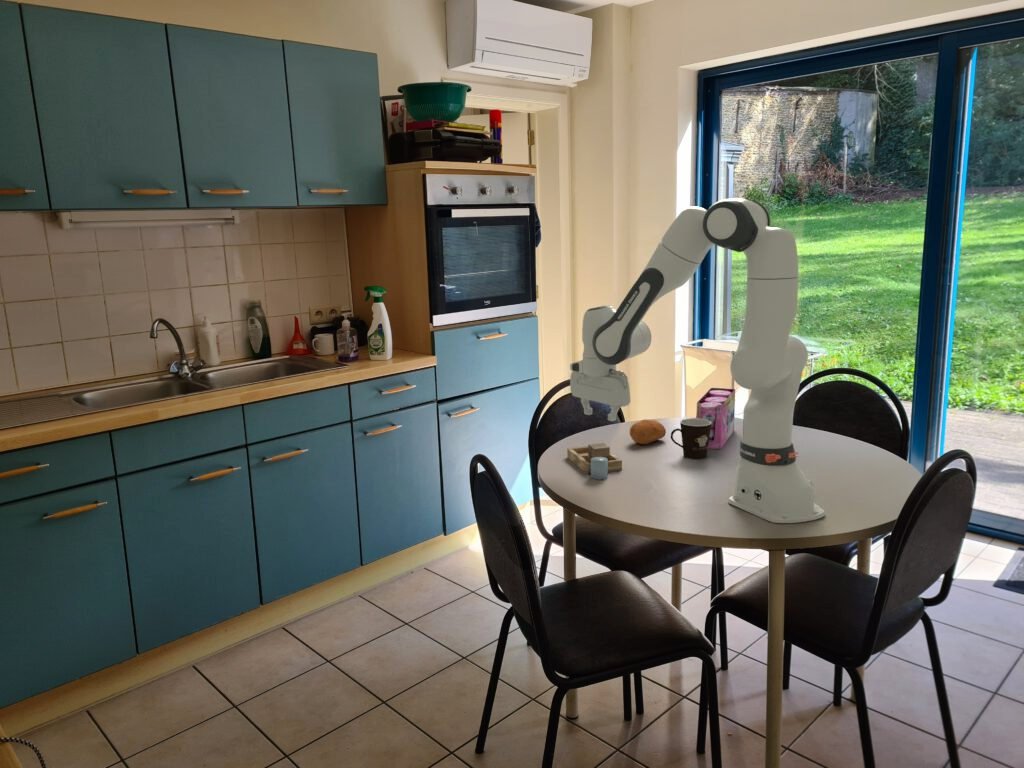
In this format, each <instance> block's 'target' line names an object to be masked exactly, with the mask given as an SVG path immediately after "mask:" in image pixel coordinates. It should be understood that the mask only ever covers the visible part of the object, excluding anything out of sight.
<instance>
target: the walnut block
mask: <svg viewBox="0 0 1024 768" xmlns="http://www.w3.org/2000/svg"><path fill="white" fill-rule="evenodd" d="M587 446H588V462H589V463H591V458H594V457H605V458H607V459H608V461H610V452H611V451H610V450H611V448H610V446H609V445H607V444H606V443H604V442H600V443H599V442H598V443H590V444H588V445H587Z"/></svg>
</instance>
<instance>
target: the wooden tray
mask: <svg viewBox="0 0 1024 768" xmlns="http://www.w3.org/2000/svg"><path fill="white" fill-rule="evenodd" d="M566 449H567V458H568V459H569V460H570V461H571V462H572V461H573V462H572V463H574V464H575V465H576V466H577V465H578V466H579V469H581V470H582V471H583V472H584V471H585V472H584V473H585V474H586V475H590V474H589V473H591V463H589V462H588V445H586V446H585V445H583V446H578V447H577V446H576V447H568V448H566ZM578 466H577V467H578ZM614 470H618V471H623V460H622V459H621V458H619V457H618V456H617V455H615V454H613V453H612V452H611V451H610V461H608V471H610V472H615V471H614Z"/></svg>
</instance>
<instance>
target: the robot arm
mask: <svg viewBox="0 0 1024 768" xmlns="http://www.w3.org/2000/svg"><path fill="white" fill-rule="evenodd" d="M715 245H716V246H718V247H720V248H723V249H727V250H730V251H734V252H737V253H744V256H745V258H746V264H747V265H746V268H747V269H746V270H747V271H746V274H747V275H746V296H745V297H746V298H745V299H746V301H745V304H746V305H745V314H744V321H743V325H742V329H741V333H740V337H739V341H738V346H737V349H736V351H735V353H734V355H733V357H732V358H731V361H730V369H729V370H730V374H731V377H732V378H733V381H735V383H736V384H737V385H738V386H740V387H741V388H744V389H746V390H750V394H749V396H748V400H747V401H746V403H745V406H744V408H743V417H742V419H743V420H742V439H741V440H740V445H739V455H740V457H741V458H740V460H739V463H738V465H737V466H736V469H735V472H734V482H733V489H732V495H731V496H730V497H728V501H727V502H728V504H730V505H732V506H734V507H737V508H739V509H741V510H744V511H746V512H748V513H751V514H752V515H755V516H756V517H759V518H761V519H764V520H766V521H768V522H770V523H774V524H776V523H777V524H797V523H804V522H811V521H815V520H818V519H821V518H823V517H825V515H826V511H825V510H824V509H823V508H821V507H820V505H818V504H817V503H815V497H814V495H815V494H814V488H813V482H812V481H811V480H810V479H807V477H806V476H805V474H804V473H803V471H802V470H801V468H800V467H799V466H798V464H797V462H796V461H797V458H799V456H798V454H799V452H798V451H796V449H795V447H794V443H793V442H792V440H793V439H792V437H793V424H794V423H793V421H794V413H795V412H794V411H795V405H796V401H797V398H798V393H799V389H800V386H801V385H800V384H801V381H802V380H801V379H802V375H803V372H804V370H805V367H806V366H807V363H808V360H809V353H808V350H807V346H806V345H805V343H804V342H803V341H802V340H801V339H799V338H797V337H795V336H791V335H790V333H791V329H792V326H793V322H794V320H795V317H796V316H797V313H798V301H799V300H798V298H799V296H798V295H799V259H798V258H799V256H798V249H797V242H796V238H795V236H794V234H793V233H792V232H791V231H790V230H788V229H786V228H782V227H778V226H777V227H776V226H775V227H774V226H773V227H772V226H771V218H770V213H769V212H768V210H767V208H766V207H765V206H764V205H763V204H761V203H760V202H758V201H755V200H752V199H747V198H742V197H736V198H735V197H733V198H724V199H721V200H718V201H716V202H715V203H713V204H711V206H710V207H709V208H708V209H706V208H704V207H700V206H687V208H685V209H683V210H682V211H681V212H680V213H679V215H678V216H677V217H676V218H675V219H674V220H673V222H672V223H671V224H670V226H669V227H668V228H667V230H666V232H665V233H664V235H663V236H662V238H661V239H660V242H659V243H658V245H657V246H656V248H655V250H654V252H653V253H652V255H651V256H650V259H649V261H648V262H647V264H646V266H645V267H644V269H643V270H642V271H641V274H640V275H639V276H638V278H637V280H636V281H635V282H634V284H633V285H632V287H630V289H629V291H628V292H627V294H625V295H626V296H625V297H624V299H623V300H622V302H621V303H620V304H619V306H618V307H617V309H616V308H615V307H614V306H612V305H601V306H596V307H591V308H589V309H587V310H586V311H585V312H584V314H583V318H582V330H581V331H582V332H581V333H582V337H581V338H582V343H583V344H582V345H583V352H582V359H581V360H578V361H575V362H572V363H570V365H569V367H570V371H571V373H570V377H569V378H570V380H569V383H570V384H569V386H570V392H571V396H573V397H576V398H580V403H581V405H582V408H583V414H584V415H587V416H590V415H593V407H591V404H590V401H593V402H597V403H601V404H605V405H609V408H610V413H607V420H608V421H609V422H615V421H617V414H618V412H619V410H620V408H622V407H623V408H624V407H627V406H629V405H630V403H631V391H630V382H629V380H628V376H627V374H626V373H625V372H624V371H623V370H617V365H618V364H620V363H622V362H624V361H626V360H628V359H631V358H634V357H637V356H639V355H642V354H644V352H646V351H647V350H648V349H649V347H650V346H651V343H652V333H651V332H652V331H651V329H650V328H649V326H648V325H647V323H645V322H644V321H642V320H643V319H644V317H645V316H646V314H647V313H648V311H649V309H651V308H652V306H653V305H654V304H655V303H656V302H657V301H658V300H659V299H661V298H662V297H664V296H665V295H667V294H669V293H671V292H672V291H674V290H676V289H679V288H680V287H682V286H684V285H685V284H686V283H687V282H688V281H689V280H690V279H691V278H692V277H693V275H694V274H695V273H696V272H697V270H698V268H699V267H700V265H701V264H702V262H703V260H704V259H705V257H706V256H707V254H708V252H709V251H710V250H711V248H713V247H714V246H715Z"/></svg>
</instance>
